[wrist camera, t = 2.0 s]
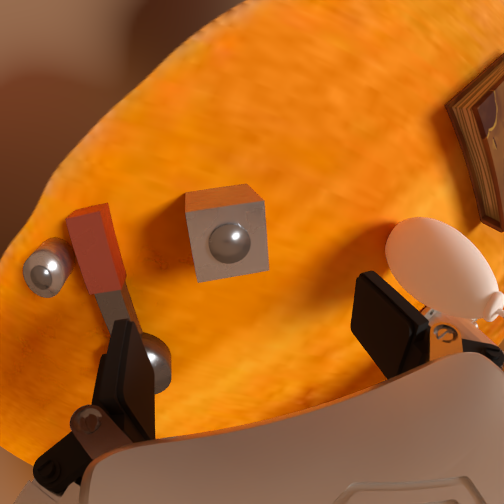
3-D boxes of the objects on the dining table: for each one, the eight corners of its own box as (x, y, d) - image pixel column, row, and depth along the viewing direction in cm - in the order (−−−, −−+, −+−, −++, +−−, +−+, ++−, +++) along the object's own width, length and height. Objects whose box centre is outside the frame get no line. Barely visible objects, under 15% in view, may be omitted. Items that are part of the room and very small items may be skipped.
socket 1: (68, 233, 23) (51, 252, 19) (80, 272, 25) (67, 295, 21) (35, 241, 22) (15, 260, 19) (48, 278, 24) (32, 301, 20)
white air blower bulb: (356, 253, 30) (476, 363, 14) (394, 191, 28) (538, 264, 12) (396, 278, 33) (498, 372, 17) (430, 225, 31) (546, 298, 15)
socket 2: (246, 183, 25) (265, 201, 19) (251, 240, 27) (270, 272, 21) (185, 192, 24) (185, 213, 18) (194, 249, 26) (198, 284, 21)
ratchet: (128, 198, 23) (111, 220, 18) (177, 373, 32) (179, 414, 26) (58, 214, 22) (27, 239, 17) (122, 379, 31) (117, 419, 25)
